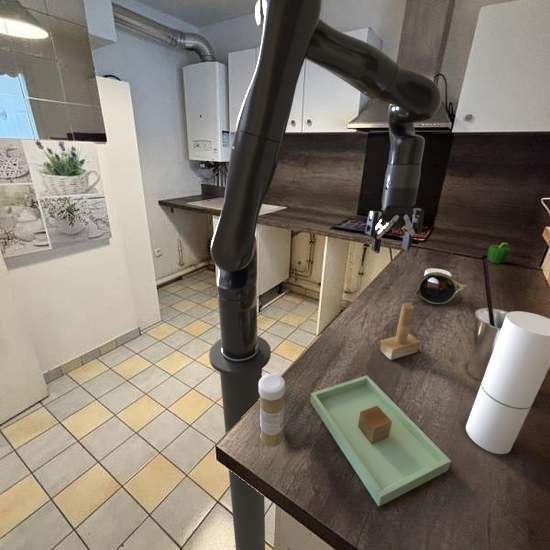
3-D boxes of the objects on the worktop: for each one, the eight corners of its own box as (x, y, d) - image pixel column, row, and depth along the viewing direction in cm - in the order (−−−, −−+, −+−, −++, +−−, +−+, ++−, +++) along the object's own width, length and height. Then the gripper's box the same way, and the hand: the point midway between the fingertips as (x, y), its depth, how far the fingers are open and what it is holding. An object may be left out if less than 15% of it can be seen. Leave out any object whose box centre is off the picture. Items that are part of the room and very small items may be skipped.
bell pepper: (484, 262, 141) (490, 242, 137) (486, 258, 147) (492, 239, 143) (505, 266, 136) (512, 246, 132) (506, 262, 142) (513, 242, 138)
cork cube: (357, 426, 56) (360, 411, 54) (374, 420, 57) (377, 405, 56) (371, 444, 53) (374, 428, 51) (388, 437, 54) (392, 421, 52)
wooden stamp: (379, 350, 78) (387, 305, 73) (405, 342, 82) (415, 298, 76) (390, 360, 75) (400, 313, 69) (418, 352, 78) (429, 306, 72)
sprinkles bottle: (268, 423, 57) (268, 368, 52) (288, 434, 55) (290, 378, 50) (254, 440, 54) (253, 384, 49) (275, 453, 52) (276, 396, 46)
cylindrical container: (514, 436, 55) (567, 323, 45) (507, 462, 50) (564, 342, 40) (471, 413, 60) (510, 306, 50) (461, 435, 55) (501, 322, 45)
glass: (447, 373, 70) (481, 256, 59) (462, 353, 77) (496, 245, 66) (500, 399, 63) (552, 271, 51) (512, 374, 70) (560, 257, 58)
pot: (455, 266, 112) (466, 267, 95) (461, 295, 111) (473, 301, 95) (406, 274, 118) (409, 277, 101) (412, 301, 118) (416, 309, 101)
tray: (310, 401, 62) (310, 393, 61) (365, 383, 67) (367, 375, 66) (378, 507, 44) (380, 497, 43) (448, 470, 49) (451, 460, 48)
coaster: (420, 280, 121) (422, 272, 120) (427, 273, 128) (429, 266, 127) (446, 287, 115) (449, 279, 114) (452, 279, 122) (454, 271, 121)
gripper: (416, 182, 73) (405, 244, 79) (365, 184, 70) (358, 248, 76) (438, 185, 66) (424, 253, 72) (383, 187, 63) (373, 258, 69)
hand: (390, 250), depth 74 cm, fingers open, 8 cm apart
